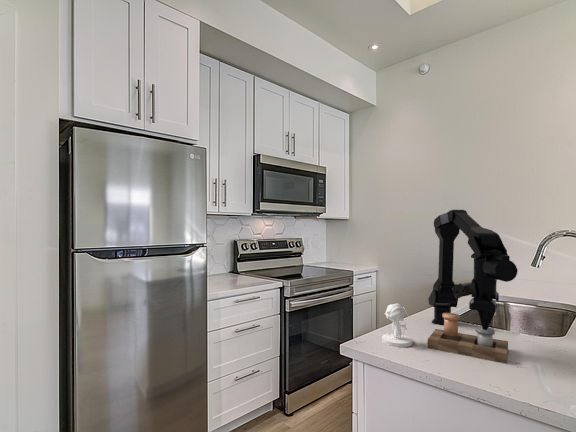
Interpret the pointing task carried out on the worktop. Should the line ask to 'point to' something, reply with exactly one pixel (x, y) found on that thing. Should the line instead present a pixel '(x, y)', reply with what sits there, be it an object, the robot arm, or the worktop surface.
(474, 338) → the socket board
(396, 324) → the figurine
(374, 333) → the worktop surface
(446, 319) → the plug terracotta
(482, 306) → the robot arm
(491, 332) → the plug grey
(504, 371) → the worktop surface
